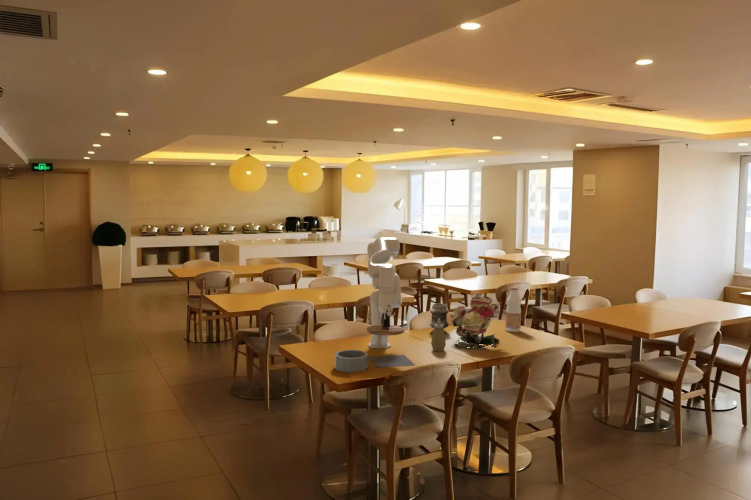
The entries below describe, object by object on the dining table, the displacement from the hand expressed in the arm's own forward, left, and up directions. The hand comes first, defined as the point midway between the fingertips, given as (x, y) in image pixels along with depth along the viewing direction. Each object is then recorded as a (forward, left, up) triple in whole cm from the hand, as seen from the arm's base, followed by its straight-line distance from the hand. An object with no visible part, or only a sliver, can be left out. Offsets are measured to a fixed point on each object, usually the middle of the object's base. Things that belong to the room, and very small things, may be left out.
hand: (385, 325), depth 290 cm
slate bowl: (+5, -18, -19) cm, 27 cm away
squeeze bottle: (-18, +36, -20) cm, 44 cm away
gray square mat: (-1, +4, -19) cm, 20 cm away
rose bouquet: (-26, +61, -20) cm, 69 cm away
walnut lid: (0, 0, -3) cm, 3 cm away
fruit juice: (-54, +100, -20) cm, 115 cm away
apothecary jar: (-58, +51, -20) cm, 79 cm away
